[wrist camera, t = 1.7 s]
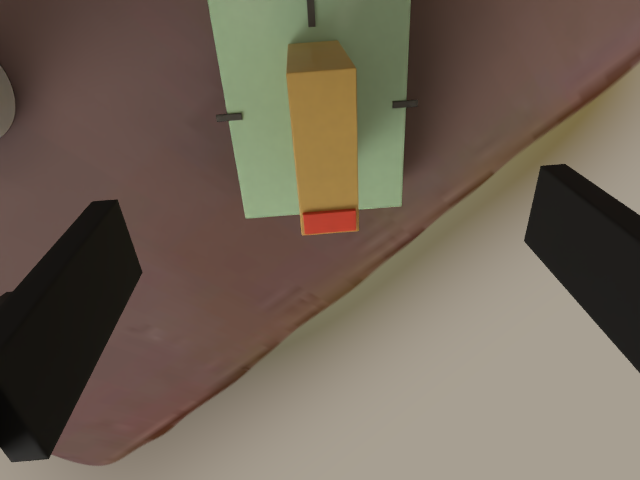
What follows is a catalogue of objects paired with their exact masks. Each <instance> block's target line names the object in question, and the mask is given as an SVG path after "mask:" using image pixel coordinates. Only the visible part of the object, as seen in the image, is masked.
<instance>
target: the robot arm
mask: <svg viewBox="0 0 640 480" xmlns="http://www.w3.org/2000/svg"><path fill="white" fill-rule="evenodd" d="M524 241H525V243H526V244H527V245H528V246H529V247H530V248H531V249H532V250H533V252H534V253H535V254H536V255H537V256H538V257H539V258H540V260H541V261H542V262H543V263H544V264H545V265H546V267H547V268H548V269H549V270H550V271H551V272H552V273H553V275H554V276H555V277H556V278H557V279H558V280H559V281H560V283H562V285H563V286H564V287H565V288H566V289H567V290H568V292H569V293H570V294H571V295H572V296H573V297H574V298H575V299H576V301H577V302H578V303H579V304H580V305H581V306H582V308H583V309H584V310H585V311H586V312H587V313H588V314H589V316H590V317H591V318H592V319H593V320H594V321H595V322H596V323H597V325H599V327H600V328H601V329H602V330H603V331H604V333H605V334H606V335H607V336H608V337H609V338H610V340H611V341H612V342H613V343H614V344H615V345H616V346H617V347H618V349H619V350H620V351H621V352H622V353H623V354H624V355H625V357H626V358H627V359H628V360H629V361H630V362H631V363H632V364H633V366H634V367H635V368H636V369H637V370H638V371H639V373H640V215H638V214H637V213H636V212H634V211H633V210H631V209H630V208H628V207H627V206H625V205H624V204H623V203H621V202H619V201H618V200H617V199H615V198H614V197H612V196H611V195H609V194H608V193H606V192H605V191H604V190H602V189H601V188H599V187H598V186H596V185H595V184H593V183H592V182H591V181H589V180H588V179H586V178H585V177H583V176H582V175H580V174H579V173H577V172H576V171H575V170H573V169H572V168H570V167H569V166H567V165H566V164H559V165H546V166H541V167H540V172H539V177H538V181H537V185H536V190H535V194H534V199H533V203H532V208H531V212H530V217H529V221H528V226H527V230H526V235H525V239H524ZM141 274H142V270H141V267H140V264H139V261H138V258H137V255H136V252H135V249H134V246H133V244H132V241H131V238H130V235H129V232H128V229H127V226H126V223H125V220H124V217H123V214H122V212H121V209H120V206H119V203H118V200H105V201H93V202H91V204H90V205H89V206H88V207H87V208H86V209H85V210H84V211H83V213H82V214H81V215H80V216H79V217H78V218H77V219H76V221H75V222H74V223H73V224H72V225H71V226H70V227H69V228H68V230H67V231H66V232H65V233H64V234H63V235H62V236H61V238H60V239H59V240H58V241H57V242H56V243H55V244H54V245H53V247H52V248H51V249H50V250H49V251H48V252H47V253H46V255H45V256H44V257H43V258H42V259H41V260H40V261H39V262H38V264H37V265H36V266H35V267H34V268H33V269H32V270H31V272H30V273H29V274H28V275H27V276H26V277H25V278H24V279H23V281H22V282H21V283H20V284H19V285H18V286H17V287H16V289H15V290H14V291H13V292H6V293H5V294H3V295H2V296H0V448H1V449H2V450H3V452H4V453H5V454H6V455H7V457H8V458H9V459H10V461H11V462H19V461H31V460H42V459H49V457H50V455H51V453H52V451H53V449H54V447H55V445H56V443H57V441H58V439H59V437H60V435H61V433H62V431H63V429H64V427H65V425H66V423H67V421H68V419H69V417H70V415H71V413H72V411H73V409H74V407H75V405H76V403H77V402H78V400H79V398H80V396H81V394H82V392H83V390H84V388H85V386H86V384H87V382H88V380H89V378H90V376H91V374H92V372H93V370H94V368H95V366H96V364H97V362H98V360H99V358H100V356H101V354H102V352H103V350H104V348H105V346H106V344H107V342H108V340H109V338H110V336H111V334H112V332H113V330H114V328H115V326H116V324H117V322H118V320H119V318H120V316H121V314H122V312H123V310H124V308H125V306H126V304H127V302H128V300H129V298H130V296H131V294H132V292H133V290H134V288H135V286H136V284H137V282H138V280H139V278H140V276H141Z"/></svg>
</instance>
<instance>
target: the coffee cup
mask: <svg viewBox="0 0 640 480" xmlns="http://www.w3.org/2000/svg"><path fill="white" fill-rule="evenodd" d="M14 115H15V97H14V93H13V89H12V86H11V83H10V81H9V79H8V77H7V75H6V73H5V71H4V70H3V68H2V67H1V65H0V137H1V136H3V135H4V134H5V133H6V132H7V131H8V129H9V128H10V126H11V124H12V122H13V119H14Z"/></svg>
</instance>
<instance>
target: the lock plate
mask: <svg viewBox="0 0 640 480" xmlns="http://www.w3.org/2000/svg"><path fill="white" fill-rule="evenodd" d="M207 1H208V6H209V12H210V18H211V23H212V29H213V35H214V41H215V46H216V52H217V58H218V64H219V69H220V75H221V81H222V86H223V92H224V98H225V104H226V109H227V114H220V115H216V119H217V122H222V121H229V126H230V132H231V138H232V144H233V149H234V155H235V161H236V166H237V172H238V178H239V184H240V189H241V195H242V201H243V206H244V212H245V218H259V217H271V216H284V215H296V214H300V212H299V202H298V192H297V181H296V171H295V161H294V151H293V140H292V130H291V120H290V110H289V100H288V89H287V79H286V67H287V51H288V44H294V43H308V42H321V41H335V40H338V41H339V43H340V44H341V46H342V47H343V49H344V50H345V52H346V53H347V55H348V56H349V58H350V59H351V61H352V62H353V64H354V65H355V67H356V69H357V131H358V200H359V209H372V208H384V207H397V206H401V205H402V185H403V163H404V141H405V118H406V107H417V106H418V100H406V96H407V74H408V52H409V30H410V8H411V0H207Z"/></svg>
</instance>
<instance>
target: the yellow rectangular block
mask: <svg viewBox="0 0 640 480" xmlns="http://www.w3.org/2000/svg"><path fill="white" fill-rule="evenodd" d="M286 79H287V89H288V100H289V110H290V120H291V130H292V140H293V151H294V161H295V171H296V181H297V192H298V202H299V212H300V222H301V233H302V235H314V234H326V233H339V232H351V231H359V200H358V131H357V69H356V67H355V65H354V64H353V62H352V61H351V59H350V58H349V56H348V55H347V53H346V52H345V50H344V49H343V47H342V46H341V44H340V43H339V41H338V40H335V41H321V42H308V43H294V44H288V51H287V67H286Z"/></svg>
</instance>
